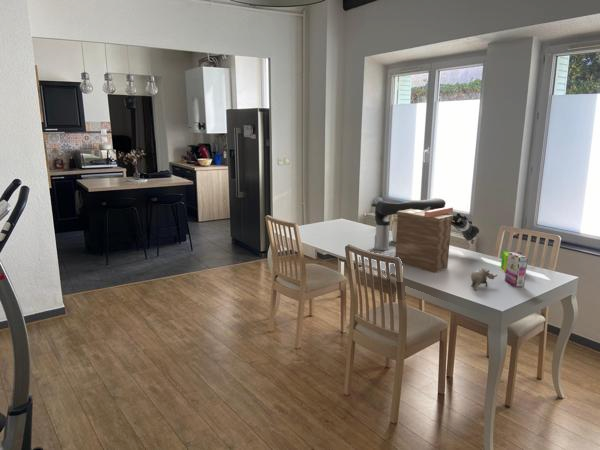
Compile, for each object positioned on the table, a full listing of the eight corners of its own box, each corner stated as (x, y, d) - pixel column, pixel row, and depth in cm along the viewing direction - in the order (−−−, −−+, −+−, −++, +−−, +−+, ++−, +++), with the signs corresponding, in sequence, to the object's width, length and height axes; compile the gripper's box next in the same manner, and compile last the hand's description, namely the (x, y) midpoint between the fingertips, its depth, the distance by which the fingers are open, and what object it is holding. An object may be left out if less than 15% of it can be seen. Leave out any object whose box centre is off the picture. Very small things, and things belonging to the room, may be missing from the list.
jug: (388, 242, 322) (390, 209, 317) (392, 238, 336) (394, 206, 331) (410, 245, 317) (412, 210, 311) (413, 240, 331) (415, 207, 325)
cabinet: (435, 273, 254) (439, 218, 247) (393, 261, 275) (396, 211, 268) (448, 268, 263) (453, 215, 257) (407, 257, 285) (411, 208, 278)
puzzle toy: (523, 273, 255) (525, 257, 253) (504, 272, 257) (506, 255, 255) (518, 268, 265) (520, 252, 263) (500, 267, 267) (502, 251, 264)
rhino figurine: (460, 283, 230) (474, 258, 231) (471, 293, 238) (484, 269, 239) (473, 288, 223) (488, 263, 225) (483, 298, 232) (497, 274, 233)
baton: (428, 217, 251) (429, 212, 250) (424, 216, 253) (424, 211, 252) (452, 212, 268) (452, 207, 267) (448, 211, 270) (448, 206, 269)
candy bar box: (524, 287, 232) (528, 257, 229) (515, 287, 232) (519, 257, 228) (512, 280, 243) (516, 251, 239) (504, 280, 242) (507, 251, 239)
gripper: (453, 216, 286) (442, 206, 275) (473, 219, 276) (463, 209, 265) (449, 226, 285) (438, 217, 274) (469, 230, 275) (459, 220, 264)
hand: (451, 213), depth 270 cm, fingers open, 8 cm apart
